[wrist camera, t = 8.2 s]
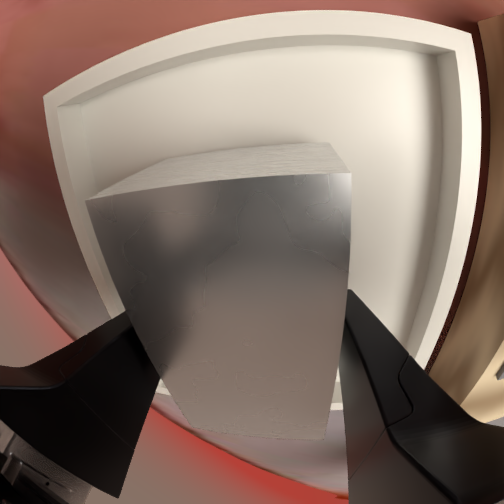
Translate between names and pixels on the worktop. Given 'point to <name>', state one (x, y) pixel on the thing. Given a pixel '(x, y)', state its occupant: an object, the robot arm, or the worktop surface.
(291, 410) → the light grey block
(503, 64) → the light wood plank
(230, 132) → the parts tray
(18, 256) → the worktop surface
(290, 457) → the worktop surface
